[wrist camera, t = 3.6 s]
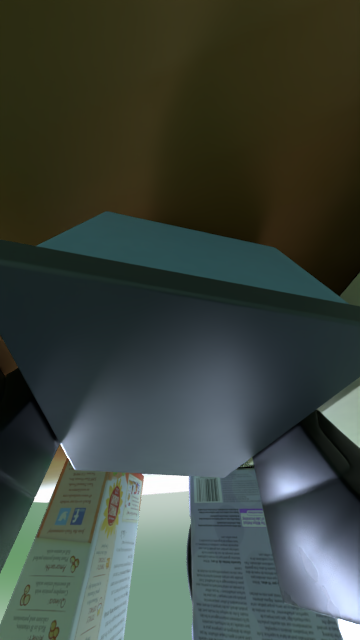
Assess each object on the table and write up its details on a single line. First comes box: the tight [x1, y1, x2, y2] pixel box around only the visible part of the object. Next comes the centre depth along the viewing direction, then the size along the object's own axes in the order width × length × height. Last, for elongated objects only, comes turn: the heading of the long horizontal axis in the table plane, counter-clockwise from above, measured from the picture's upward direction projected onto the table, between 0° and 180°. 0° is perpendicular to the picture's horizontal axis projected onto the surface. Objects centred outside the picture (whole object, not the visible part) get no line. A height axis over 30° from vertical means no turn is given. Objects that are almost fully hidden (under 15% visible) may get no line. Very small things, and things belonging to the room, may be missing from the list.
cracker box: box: [0, 457, 144, 640], centre depth 18 cm, size 14×6×21 cm, turn 6°
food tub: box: [0, 211, 360, 478], centre depth 7 cm, size 7×9×5 cm
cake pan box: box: [187, 468, 342, 640], centre depth 22 cm, size 19×5×18 cm, turn 105°
